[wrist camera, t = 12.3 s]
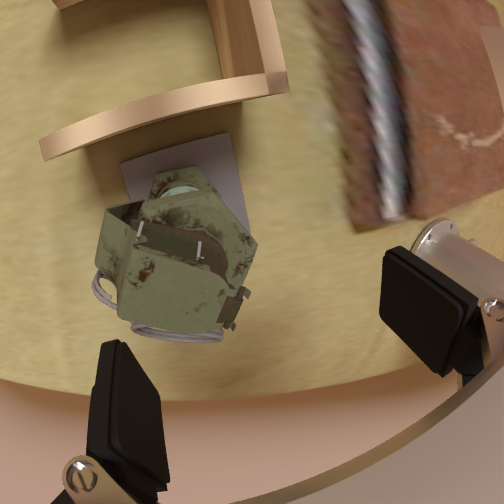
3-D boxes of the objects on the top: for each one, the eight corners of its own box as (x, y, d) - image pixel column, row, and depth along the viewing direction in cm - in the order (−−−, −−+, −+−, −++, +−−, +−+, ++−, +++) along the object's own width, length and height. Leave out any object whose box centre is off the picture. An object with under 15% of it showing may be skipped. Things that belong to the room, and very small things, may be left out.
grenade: (146, 148, 20) (96, 176, 7) (226, 174, 23) (305, 242, 9) (120, 235, 22) (70, 366, 9) (195, 256, 25) (227, 396, 12)
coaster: (228, 131, 22) (229, 132, 22) (248, 230, 26) (250, 232, 26) (119, 163, 20) (119, 164, 20) (152, 261, 25) (152, 264, 24)
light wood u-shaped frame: (211, -38, 15) (241, -94, 7) (242, 101, 21) (290, 91, 14) (59, 0, 12) (25, -44, 4) (84, 147, 19) (44, 161, 11)
